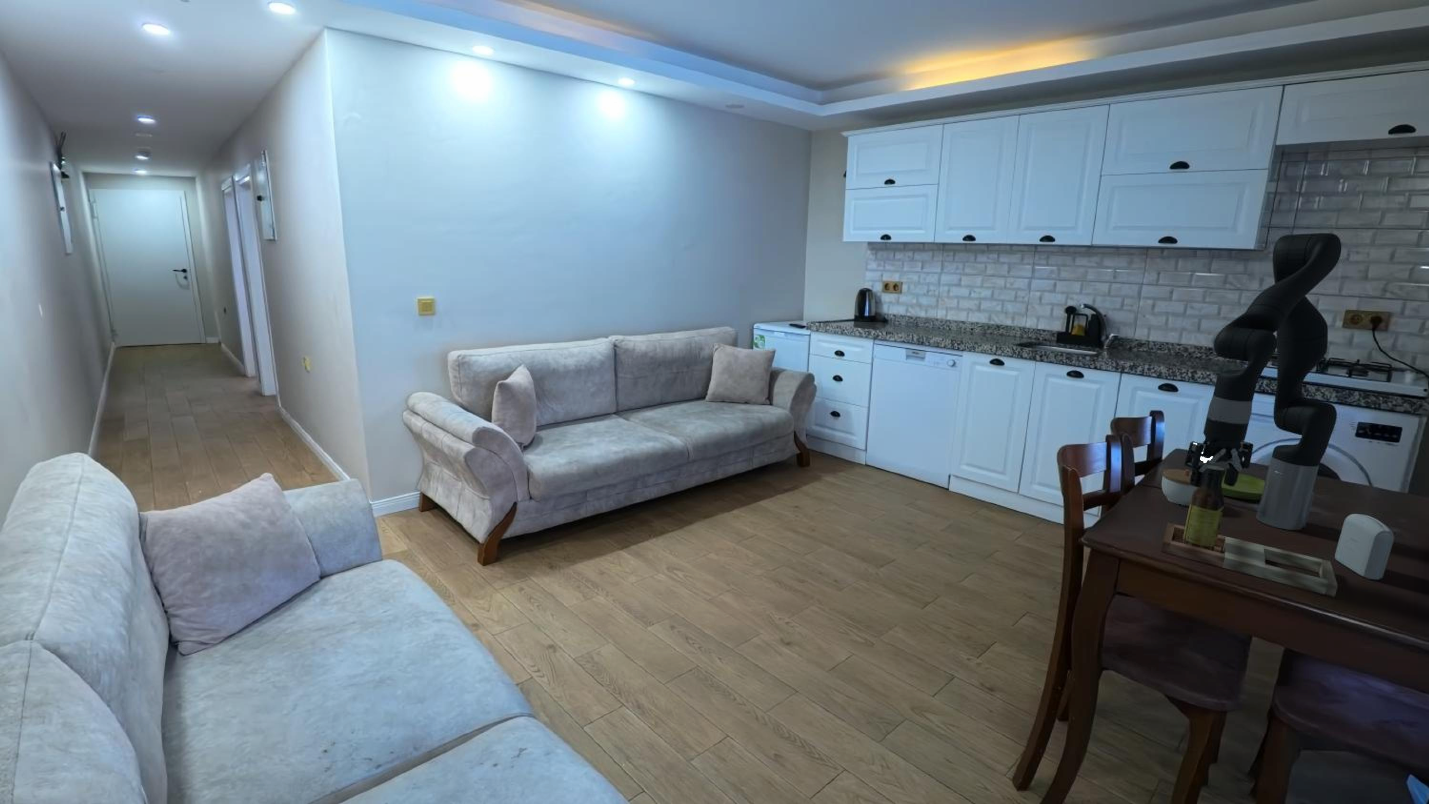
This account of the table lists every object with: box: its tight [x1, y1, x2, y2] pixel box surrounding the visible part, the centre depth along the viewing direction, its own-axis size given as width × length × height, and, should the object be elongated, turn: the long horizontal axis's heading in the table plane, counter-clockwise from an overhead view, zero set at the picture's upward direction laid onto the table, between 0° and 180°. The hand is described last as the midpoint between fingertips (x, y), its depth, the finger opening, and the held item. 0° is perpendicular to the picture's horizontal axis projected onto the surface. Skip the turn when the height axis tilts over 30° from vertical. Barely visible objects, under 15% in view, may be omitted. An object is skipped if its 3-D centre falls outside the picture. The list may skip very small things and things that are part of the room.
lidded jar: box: [1161, 468, 1198, 507], centre depth 182 cm, size 11×11×9 cm
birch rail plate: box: [1160, 522, 1339, 598], centre depth 148 cm, size 30×14×2 cm, turn 52°
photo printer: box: [1334, 513, 1395, 581], centre depth 145 cm, size 10×4×12 cm, turn 168°
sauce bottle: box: [1183, 465, 1226, 551], centre depth 151 cm, size 7×6×20 cm
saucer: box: [1190, 470, 1266, 501], centre depth 193 cm, size 21×21×3 cm
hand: (1212, 485), depth 149 cm, fingers open, 8 cm apart
